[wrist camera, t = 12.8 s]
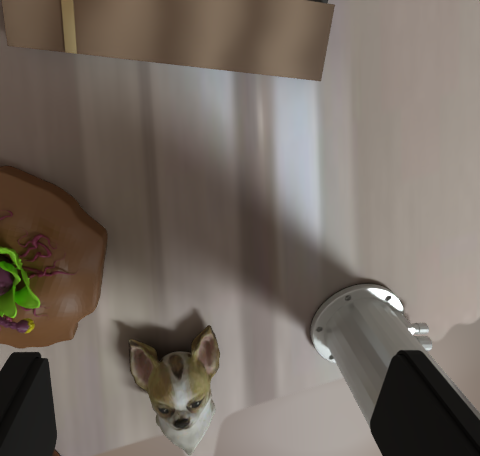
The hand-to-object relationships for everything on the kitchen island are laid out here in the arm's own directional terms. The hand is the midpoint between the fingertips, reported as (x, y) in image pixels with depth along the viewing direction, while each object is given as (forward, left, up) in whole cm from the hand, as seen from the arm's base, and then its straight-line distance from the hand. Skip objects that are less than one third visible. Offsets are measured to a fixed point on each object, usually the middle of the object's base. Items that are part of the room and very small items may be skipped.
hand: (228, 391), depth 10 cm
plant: (+18, +12, -30) cm, 37 cm away
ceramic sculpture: (0, +28, -29) cm, 40 cm away
